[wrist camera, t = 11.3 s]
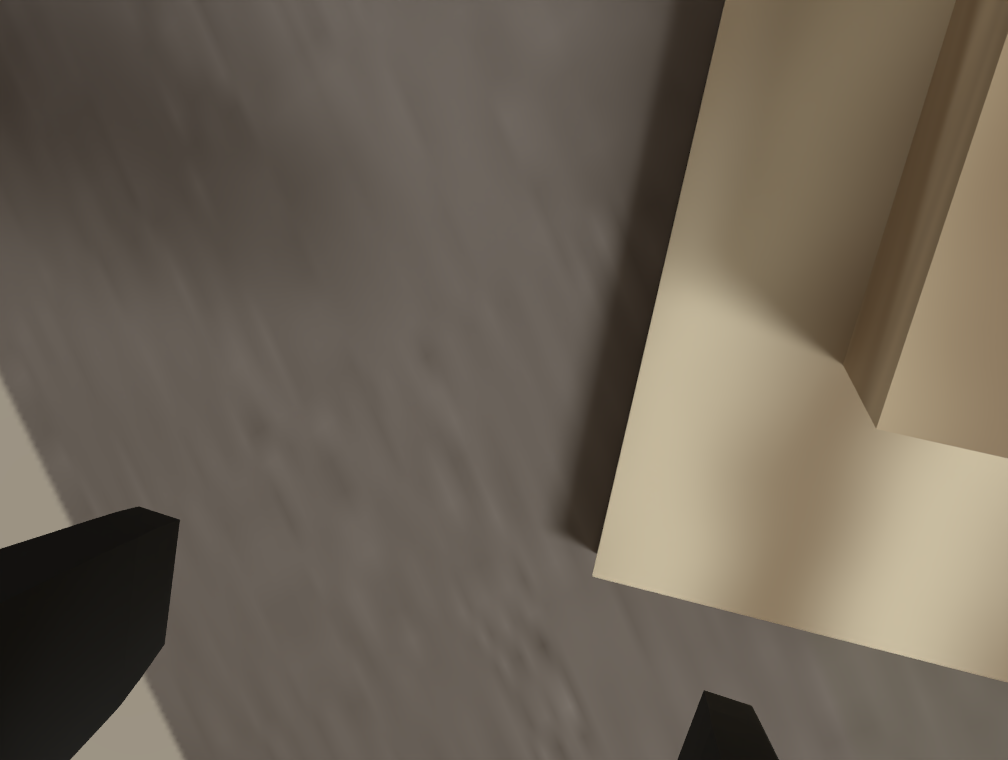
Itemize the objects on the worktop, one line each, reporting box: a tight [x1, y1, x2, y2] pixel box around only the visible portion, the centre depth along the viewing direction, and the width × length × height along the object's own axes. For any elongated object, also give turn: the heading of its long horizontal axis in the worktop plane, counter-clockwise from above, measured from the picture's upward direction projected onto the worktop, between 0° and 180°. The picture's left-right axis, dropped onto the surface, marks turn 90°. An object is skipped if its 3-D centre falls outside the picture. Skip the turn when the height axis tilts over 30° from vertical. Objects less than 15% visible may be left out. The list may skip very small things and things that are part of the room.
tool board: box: [592, 0, 1008, 682], centre depth 17 cm, size 10×22×1 cm, turn 171°
